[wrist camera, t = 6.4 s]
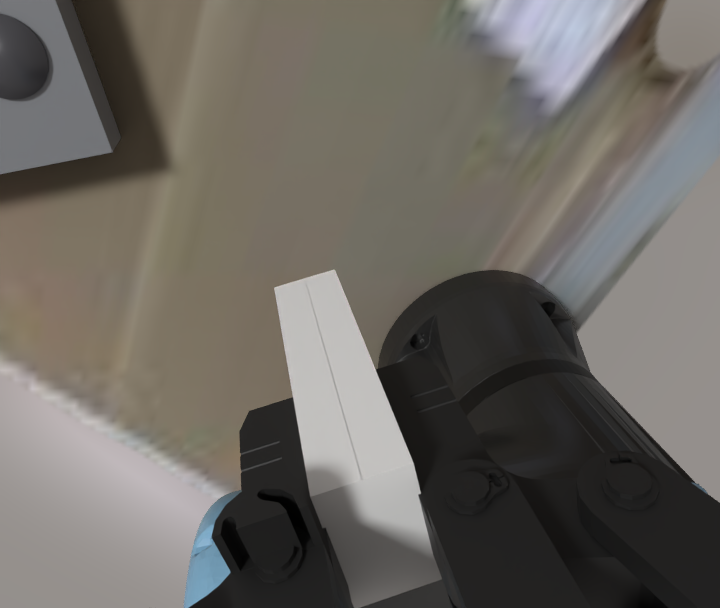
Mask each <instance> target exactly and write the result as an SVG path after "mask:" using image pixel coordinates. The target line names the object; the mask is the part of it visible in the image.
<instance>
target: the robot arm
mask: <svg viewBox="0 0 720 608" xmlns="http://www.w3.org/2000/svg"><path fill="white" fill-rule="evenodd" d="M274 289H275V295H276V301H277V307H278V312H279V318H280V324H281V330H282V336H283V341H284V347H285V353H286V359H287V365H288V370H289V376H290V382H291V388H292V394H293V397H292V398H289V399H286V400H283V401H280V402H277V403H273V404H270V405H267V406H264V407H261V408H258V409H254V410H251V411H249V413H248V415H247V417H246V419H245V421H244V423H243V425H242V428H241V430H240V453H241V456H240V461H241V471H242V473H241V490H239V491H235V492H232V493H229V494H227V495H225V496H223V497H221V498H220V499H218V500H217V501H216V502H215V503H214V504H213V505H212V506H211V507H210V508H209V510H208V511H207V513H206V514H205V516H204V518H203V519H202V522H201V524H200V526H199V529H198V532H197V534H196V538H195V541H194V545H193V549H192V554H191V559H190V565H189V570H188V576H187V583H186V591H185V600H184V608H720V503H719V502H718V501H716V500H715V499H713V498H712V497H711V496H709V495H708V494H707V492H706V491H705V489H704V488H702V487H701V486H699V484H696V483H695V482H694V481H693V480H692V479H691V478H690V477H689V475H688V474H687V473H686V472H685V471H684V470H683V469H682V468H681V467H680V466H679V465H678V464H677V463H676V462H675V461H674V460H673V459H672V458H671V457H670V456H669V455H668V454H667V453H666V452H665V450H664V449H662V448H661V446H660V445H659V444H658V443H657V442H656V441H655V440H654V439H653V438H652V437H651V436H650V435H649V434H648V433H647V432H646V431H645V430H644V429H643V427H642V426H641V425H640V424H638V422H637V421H636V420H635V419H634V418H633V417H632V416H631V415H630V414H629V413H628V412H627V411H626V410H625V409H624V408H623V407H622V406H621V405H620V403H619V402H618V401H617V400H615V398H614V397H613V396H612V395H611V394H610V393H609V392H608V391H607V390H606V389H605V388H604V387H603V386H602V385H601V384H600V383H599V382H598V381H597V380H596V379H595V377H594V376H593V375H592V374H591V372H590V370H589V367H588V364H587V361H586V359H585V356H584V353H583V350H582V347H581V345H580V342H579V339H578V336H577V334H576V331H575V328H574V325H573V323H572V320H571V318H570V317H569V315H568V313H567V312H566V310H565V309H564V308H563V306H562V305H561V304H560V303H559V302H558V301H557V300H556V299H555V298H554V297H553V296H552V295H551V294H550V293H549V292H548V291H547V290H546V289H545V288H544V287H543V286H541V285H540V284H539V283H537V282H536V281H534V280H532V279H530V278H528V277H526V276H523V275H520V274H517V273H513V272H508V271H498V270H489V271H479V272H473V273H468V274H464V275H461V276H458V277H455V278H452V279H450V280H447V281H445V282H443V283H441V284H439V285H437V286H435V287H434V288H432V289H430V290H429V291H427V292H426V293H424V294H423V295H422V296H420V297H419V298H418V299H416V300H415V301H414V302H413V303H412V304H411V305H410V306H409V307H408V308H407V309H406V310H405V311H404V312H403V313H402V314H401V315H400V317H399V318H398V319H397V320H396V322H395V323H394V325H393V326H392V328H391V329H390V331H389V333H388V335H387V337H386V339H385V341H384V344H383V346H382V349H381V353H380V357H379V363H378V369H376V370H375V367H374V365H373V362H372V360H371V357H370V355H369V353H368V350H367V348H366V345H365V343H364V340H363V338H362V335H361V333H360V330H359V328H358V325H357V323H356V321H355V318H354V316H353V313H352V311H351V308H350V306H349V303H348V301H347V298H346V296H345V294H344V291H343V289H342V286H341V284H340V281H339V279H338V276H337V274H336V271H335V269H334V270H331V271H328V272H324V273H321V274H318V275H314V276H311V277H308V278H304V279H301V280H298V281H294V282H291V283H288V284H284V285H281V286H278V287H274Z"/></svg>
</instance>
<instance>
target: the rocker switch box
mask: <svg viewBox="0 0 720 608" xmlns="http://www.w3.org/2000/svg"><path fill="white" fill-rule="evenodd" d="M120 139H121V136H120V133H119V130H118V127H117V125H116V122H115V119H114V116H113V114H112V111H111V108H110V105H109V103H108V100H107V97H106V94H105V92H104V89H103V86H102V83H101V80H100V78H99V75H98V72H97V69H96V67H95V64H94V61H93V58H92V56H91V53H90V50H89V47H88V45H87V42H86V39H85V36H84V34H83V31H82V28H81V25H80V23H79V20H78V17H77V14H76V11H75V9H74V6H73V3H72V0H0V174H4V173H9V172H15V171H20V170H25V169H30V168H35V167H40V166H45V165H50V164H55V163H60V162H65V161H71V160H76V159H81V158H86V157H91V156H96V155H101V154H106V153H111V152H113V151H114V149H115V147H116V146H117V144H118V142H119V141H120Z"/></svg>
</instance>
